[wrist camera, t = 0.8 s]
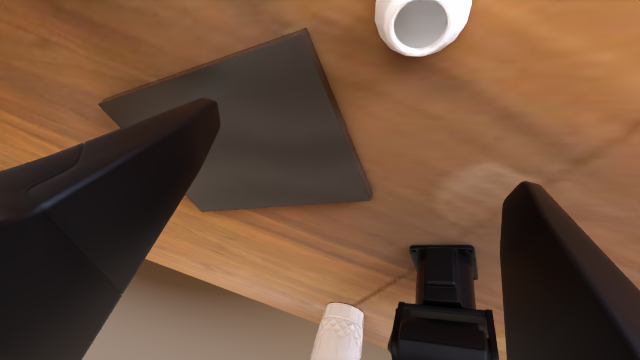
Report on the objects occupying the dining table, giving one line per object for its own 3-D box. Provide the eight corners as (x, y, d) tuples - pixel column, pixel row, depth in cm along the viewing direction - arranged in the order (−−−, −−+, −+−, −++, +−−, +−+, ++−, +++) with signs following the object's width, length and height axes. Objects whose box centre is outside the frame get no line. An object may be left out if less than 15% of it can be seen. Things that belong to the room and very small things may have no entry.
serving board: (372, 192, 30) (371, 200, 29) (205, 205, 40) (201, 212, 39) (306, 27, 20) (302, 34, 19) (104, 98, 30) (97, 104, 29)
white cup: (358, 324, 57) (347, 387, 50) (317, 309, 56) (302, 371, 50) (374, 312, 51) (365, 381, 44) (329, 295, 50) (314, 363, 44)
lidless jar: (374, 48, 20) (456, 52, 19) (367, 71, 18) (459, 76, 17) (380, -46, 16) (482, -48, 15) (372, -31, 14) (489, -32, 13)
